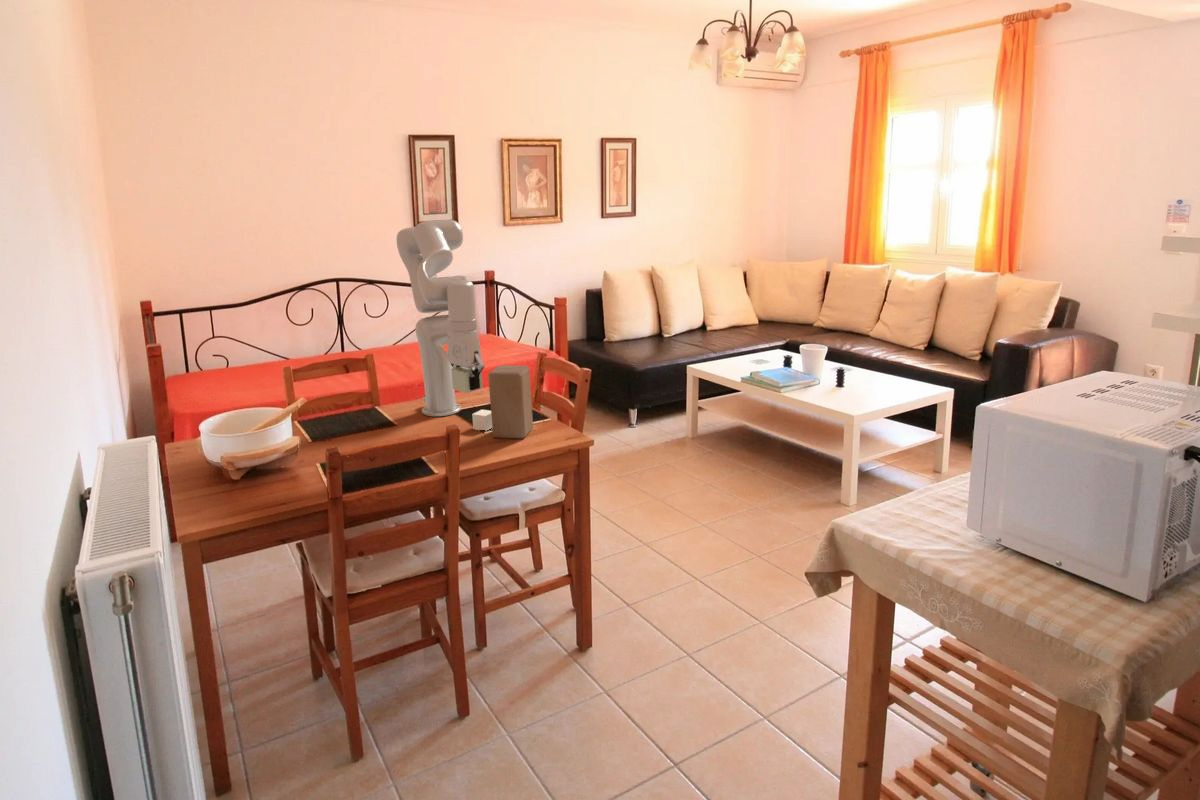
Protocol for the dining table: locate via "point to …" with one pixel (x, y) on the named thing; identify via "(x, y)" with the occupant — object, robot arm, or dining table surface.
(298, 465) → the dining table surface
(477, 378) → the robot arm
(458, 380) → the sage cube
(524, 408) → the block
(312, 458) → the dining table surface
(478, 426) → the cream cube
